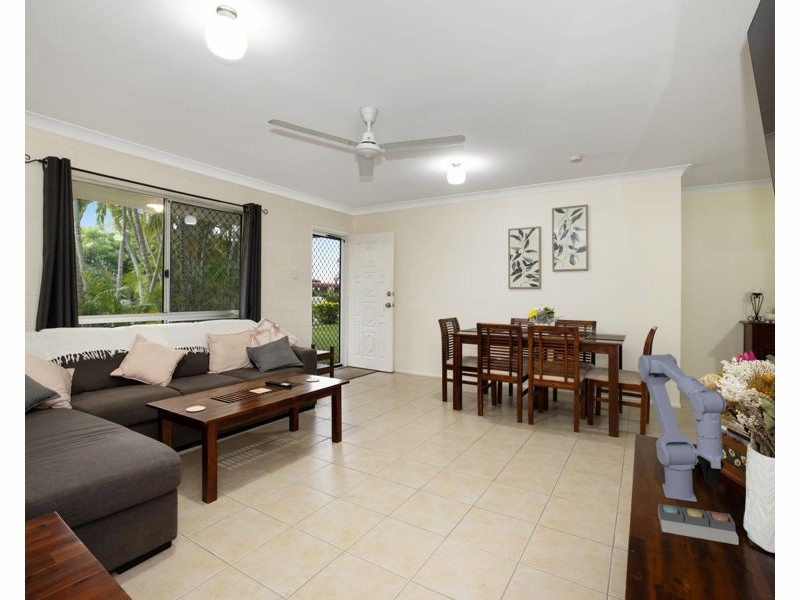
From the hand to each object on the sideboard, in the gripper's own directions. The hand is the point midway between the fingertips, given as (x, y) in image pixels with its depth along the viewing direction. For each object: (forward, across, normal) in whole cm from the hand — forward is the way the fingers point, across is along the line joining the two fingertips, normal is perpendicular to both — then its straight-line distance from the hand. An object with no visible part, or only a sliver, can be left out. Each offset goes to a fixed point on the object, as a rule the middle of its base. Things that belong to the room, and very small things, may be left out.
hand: (711, 484), depth 115 cm
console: (+10, +6, -5) cm, 13 cm away
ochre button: (+7, +6, -5) cm, 11 cm away
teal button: (+7, +6, -10) cm, 14 cm away
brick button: (+7, +6, 0) cm, 10 cm away
